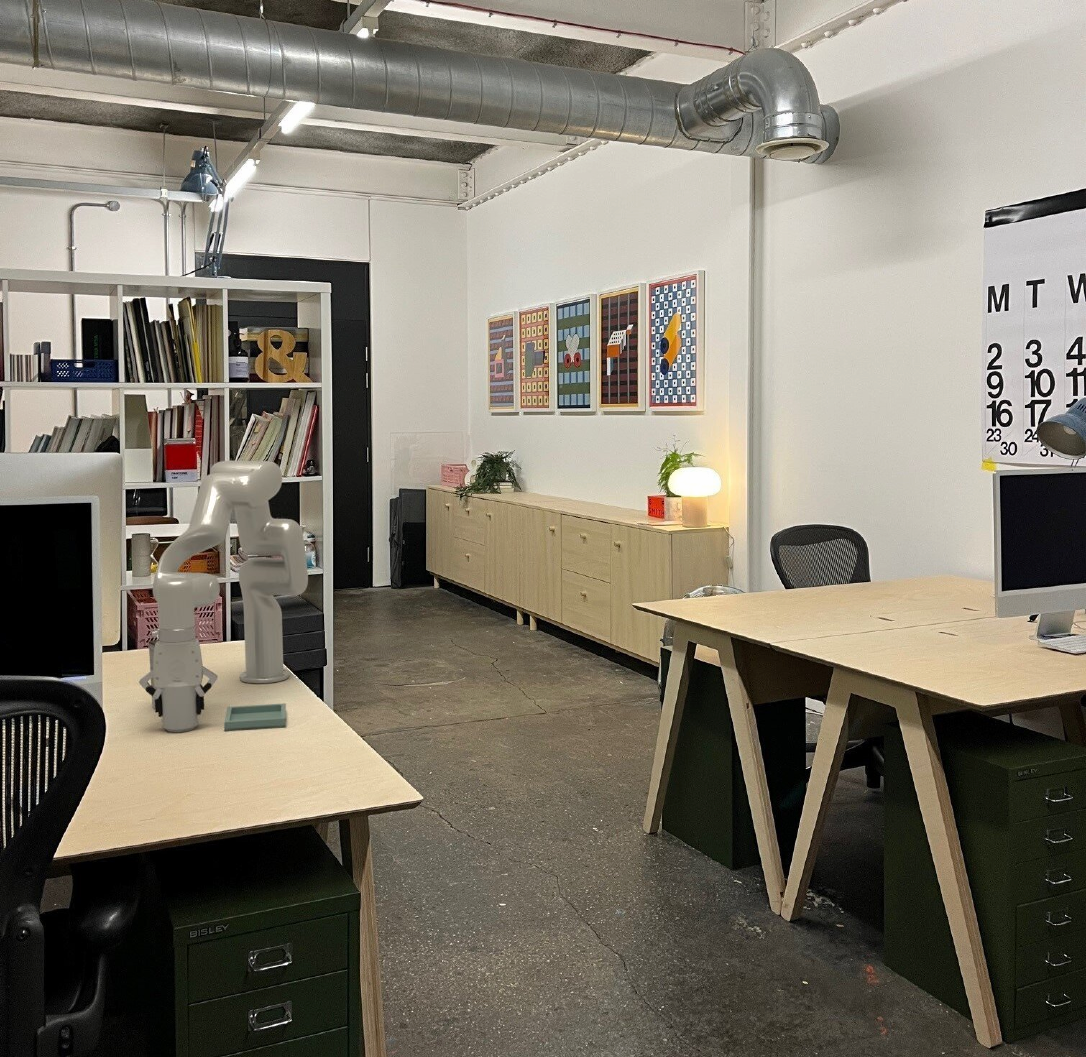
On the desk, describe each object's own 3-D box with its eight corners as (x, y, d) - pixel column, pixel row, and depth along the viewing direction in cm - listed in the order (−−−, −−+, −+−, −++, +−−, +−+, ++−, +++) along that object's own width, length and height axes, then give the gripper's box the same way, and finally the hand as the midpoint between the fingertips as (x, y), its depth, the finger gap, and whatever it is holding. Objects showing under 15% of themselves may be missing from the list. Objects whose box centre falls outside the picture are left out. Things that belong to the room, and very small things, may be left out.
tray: (227, 715, 253) (227, 706, 252) (285, 711, 255) (285, 703, 255) (224, 731, 240) (224, 722, 240) (285, 727, 243) (285, 718, 243)
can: (205, 726, 243) (203, 673, 242) (179, 735, 237) (177, 680, 236) (182, 721, 247) (180, 669, 246) (155, 730, 241) (153, 676, 240)
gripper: (132, 640, 234) (135, 721, 236) (217, 636, 238) (220, 716, 240) (137, 633, 242) (140, 712, 244) (219, 629, 246) (222, 707, 247)
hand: (180, 713), depth 242 cm, fingers closed on can, 7 cm apart
